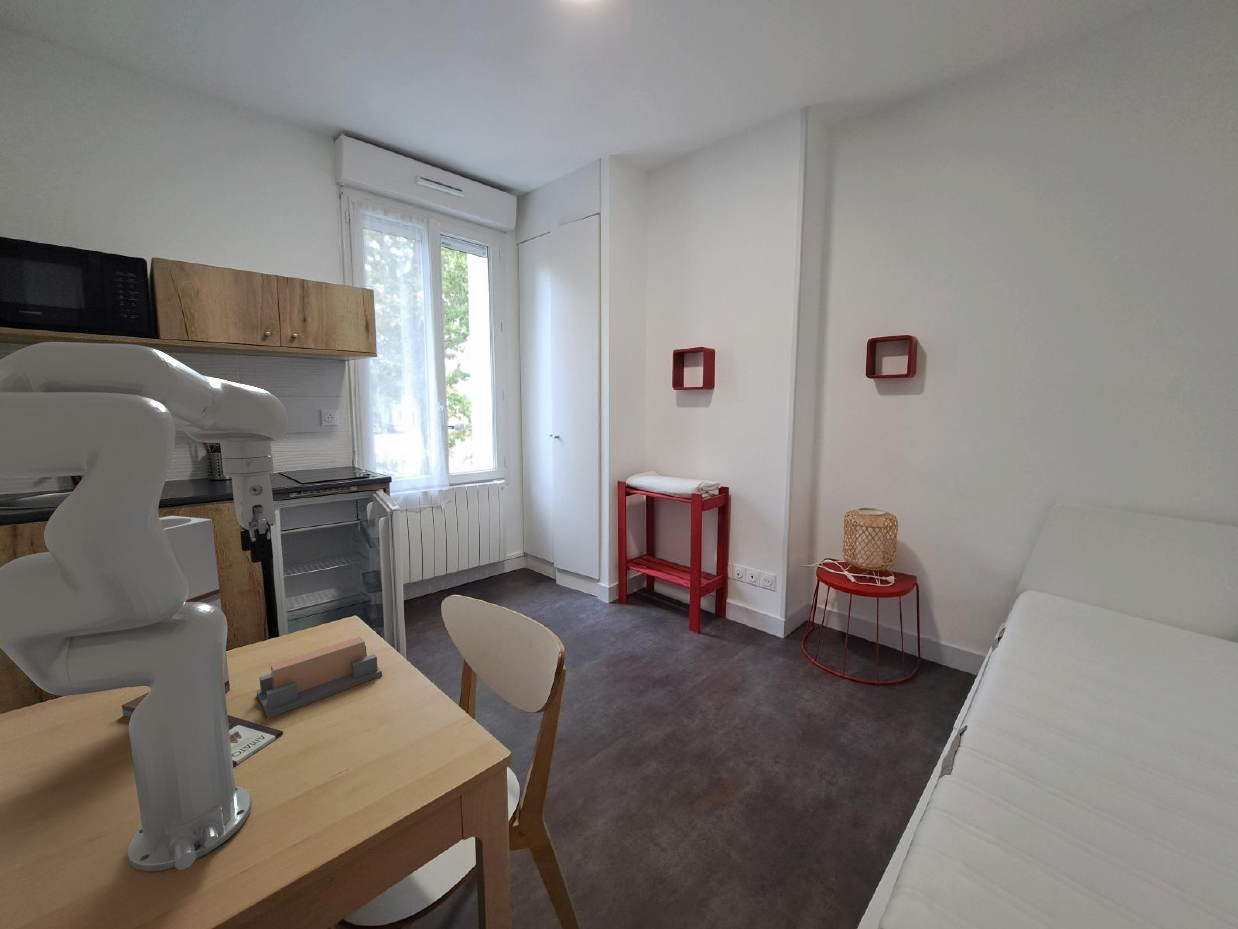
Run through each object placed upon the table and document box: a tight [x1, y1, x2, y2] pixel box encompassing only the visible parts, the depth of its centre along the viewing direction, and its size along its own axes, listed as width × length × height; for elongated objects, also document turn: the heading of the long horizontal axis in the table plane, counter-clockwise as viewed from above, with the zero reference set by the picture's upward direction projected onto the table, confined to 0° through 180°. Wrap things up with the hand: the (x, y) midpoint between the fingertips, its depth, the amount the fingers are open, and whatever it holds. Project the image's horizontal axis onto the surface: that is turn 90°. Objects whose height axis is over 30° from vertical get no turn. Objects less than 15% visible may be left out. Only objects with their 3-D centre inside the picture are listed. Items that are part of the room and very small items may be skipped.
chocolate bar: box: [227, 714, 284, 768], centre depth 84 cm, size 9×1×18 cm
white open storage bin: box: [121, 515, 231, 718], centre depth 92 cm, size 11×11×35 cm
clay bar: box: [270, 636, 367, 693], centre depth 100 cm, size 3×16×6 cm, turn 135°
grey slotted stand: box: [256, 644, 383, 719], centre depth 100 cm, size 10×20×4 cm, turn 135°
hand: (257, 555), depth 94 cm, fingers open, 9 cm apart
